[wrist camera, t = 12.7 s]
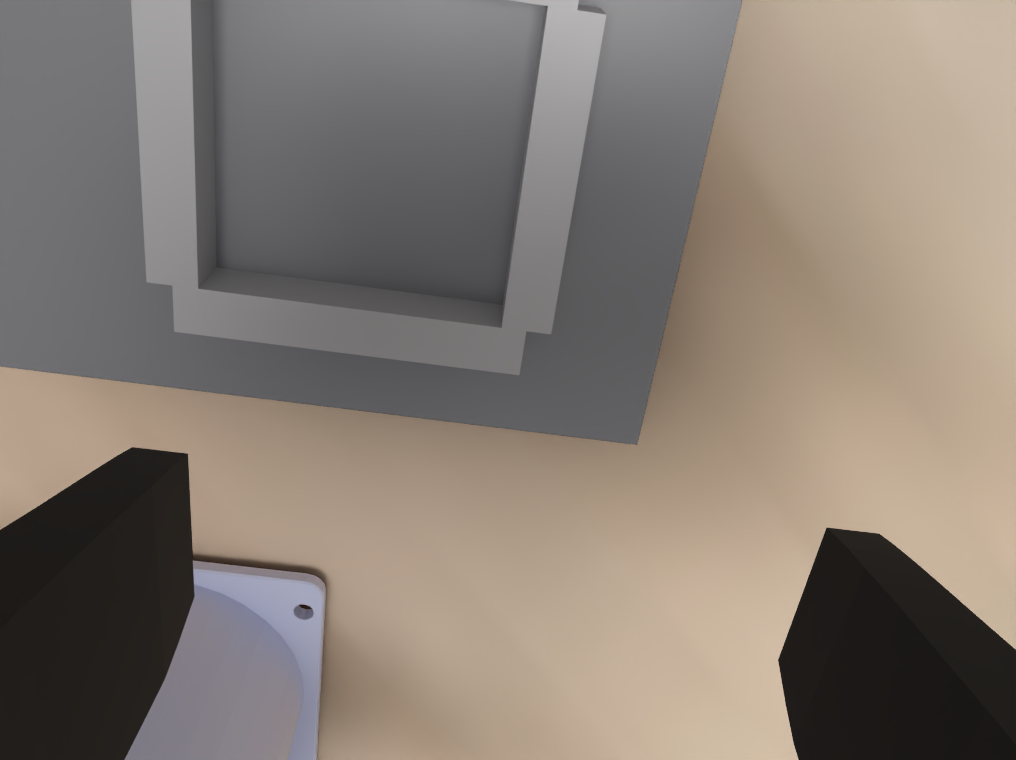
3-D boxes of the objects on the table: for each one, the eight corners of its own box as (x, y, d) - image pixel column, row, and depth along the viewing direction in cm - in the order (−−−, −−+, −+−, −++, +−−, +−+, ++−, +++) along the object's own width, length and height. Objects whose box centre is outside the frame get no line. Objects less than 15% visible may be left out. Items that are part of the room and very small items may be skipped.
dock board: (632, 422, 21) (643, 473, 19) (-512, 280, 20) (-623, 320, 18) (766, -158, 16) (800, -168, 14) (-797, -407, 15) (-1003, -457, 13)
